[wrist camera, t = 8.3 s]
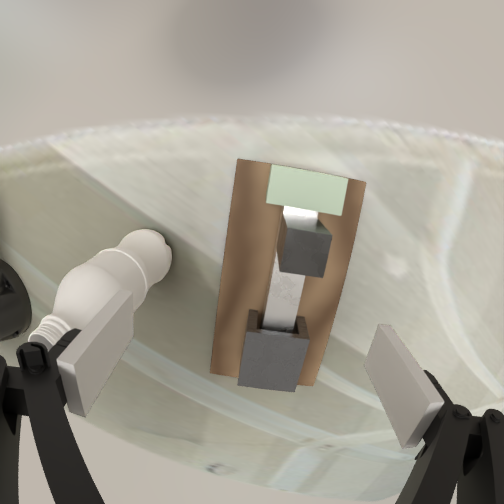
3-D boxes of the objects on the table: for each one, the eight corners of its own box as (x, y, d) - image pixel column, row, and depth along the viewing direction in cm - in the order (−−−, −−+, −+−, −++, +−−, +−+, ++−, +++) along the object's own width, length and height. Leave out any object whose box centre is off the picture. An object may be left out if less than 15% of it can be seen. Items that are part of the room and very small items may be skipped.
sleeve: (240, 359, 45) (237, 385, 39) (248, 308, 43) (246, 331, 37) (291, 366, 45) (294, 392, 39) (304, 316, 43) (309, 339, 37)
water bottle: (127, 223, 41) (-1, 295, 17) (177, 227, 41) (75, 315, 17) (127, 272, 43) (21, 376, 19) (175, 279, 43) (93, 401, 19)
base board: (210, 369, 47) (210, 373, 46) (238, 158, 38) (237, 158, 37) (312, 382, 47) (313, 386, 46) (363, 181, 38) (366, 182, 37)
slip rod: (259, 327, 43) (257, 381, 32) (286, 170, 37) (296, 175, 26) (287, 331, 43) (294, 385, 32) (319, 176, 37) (342, 184, 26)
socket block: (265, 196, 38) (265, 202, 33) (270, 163, 37) (272, 164, 31) (330, 207, 38) (341, 215, 33) (335, 175, 37) (348, 178, 31)
